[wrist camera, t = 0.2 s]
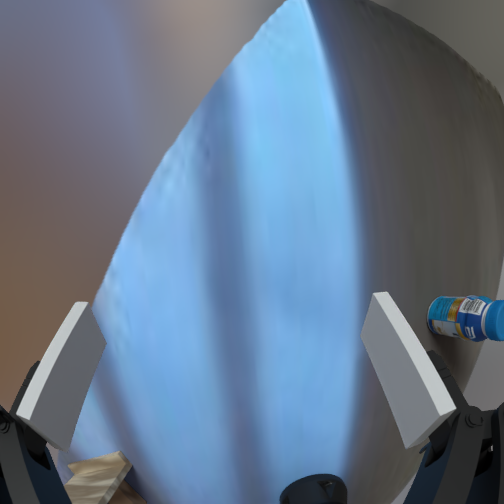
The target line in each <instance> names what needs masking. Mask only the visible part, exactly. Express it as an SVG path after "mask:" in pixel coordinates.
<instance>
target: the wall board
mask: <svg viewBox="0 0 504 504" xmlns="http://www.w3.org/2000/svg"><path fill="white" fill-rule="evenodd" d="M68 467H69V468H70V469H71V470H72V472H73V473H74V474H75V475H74V476H73V477H72V478H71V479H70V480H69V481H68V482H67V483H66V484H65V485H64V488H65V490H66V492H67V494H68V496H69V498H70V500H71V502H72V504H107V503H109V504H147V502H146V501H145V500H144V499H143V498H142V497H141V496H140V495H139V494H138V493H137V492H136V491H135V490H134V489H133V488H132V487H131V486H130V485H129V484H128V483H127V482H126V481H125V480H124V477H125V476H126V474H127V473H128V471H129V470H130V468H131V467H132V464H131V463H130V462H129V461H128V459H127V458H126V457H125V456H124V455H123V453H122V452H121V451H117V452H114V453H110V454H107V455H103V456H99V457H95V458H91V459H87V460H83V461H78V462H74V463H70V464H69V465H68Z"/></svg>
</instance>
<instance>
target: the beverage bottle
mask: <svg viewBox="0 0 504 504" xmlns="http://www.w3.org/2000/svg"><path fill="white" fill-rule="evenodd" d="M427 322H428V326H429V328H430V330H431V331H432V332H433V333H435V334H439V335H446V336H451V337H456V338H461V339H462V340H465V341H471V340H472V341H475V342H479V341H483V340H485V339H487V338H489V339H490V340H495V341H504V300H496V301H492V300H491V299H489V298H487V297H485V296H479V297H478V296H473V295H471V296H467V297H446V296H441V297H438V298H436V299H435V300H434V301H433V302H432V303H431V305H430V307H429V310H428V314H427Z"/></svg>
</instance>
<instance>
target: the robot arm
mask: <svg viewBox="0 0 504 504" xmlns="http://www.w3.org/2000/svg"><path fill="white" fill-rule="evenodd" d="M360 337H361V339H362V341H363V343H364V346H365V348H366V350H367V352H368V355H369V357H370V359H371V362H372V364H373V366H374V368H375V371H376V373H377V376H378V378H379V380H380V383H381V385H382V388H383V390H384V392H385V395H386V397H387V400H388V402H389V405H390V407H391V410H392V413H393V415H394V418H395V420H396V423H397V426H398V428H399V431H400V434H401V437H402V439H403V442H404V445H405V448H406V449H407V448H410V447H412V446H415V445H417V444H420V443H422V442H423V441H424V440H425V439H426V438H427V437H429V439H430V442H429V443H428V444H427V445H425V446H424V447H423V448H422V449H421V450H420V452H419V453H420V454H421V453H422V452H424V451H425V450H426V451H425V454H424V457H423V459H422V462H421V465H420V467H419V470H418V472H417V474H416V477H415V479H414V481H413V484H412V486H411V488H410V491H409V492H408V495H407V497H406V499H405V501H404V503H403V504H504V402H503V403H502V404H501V405H500V406H499V407H498V408H497V409H496V410H489V411H481V410H480V409H479V408H477V407H475V406H469V405H468V403H467V402H466V400H465V398H464V396H463V394H462V392H461V391H460V389H459V387H458V385H457V383H456V382H455V380H454V378H453V376H451V373H450V371H449V369H447V366H446V364H445V363H444V361H443V359H442V358H441V357H440V356H439V355H438V354H437V353H435V352H434V351H433V350H432V351H428V352H425V350H424V348H423V347H422V345H421V343H420V342H419V340H418V338H417V337H416V335H415V334H414V332H413V330H412V329H411V327H410V326H409V324H408V322H407V321H406V319H405V318H404V316H403V315H402V313H401V312H400V310H399V309H398V307H397V306H396V304H395V303H394V301H393V300H392V298H391V297H390V295H389V294H388V292H380V293H373V295H372V299H371V302H370V306H369V309H368V313H367V316H366V319H365V322H364V326H363V329H362V332H361V335H360ZM106 344H107V343H106V341H105V339H104V337H103V334H102V332H101V330H100V328H99V326H98V324H97V321H96V319H95V317H94V315H93V312H92V310H91V307H90V305H89V303H88V302H76V303H75V304H74V306H73V307H72V309H71V311H70V312H69V314H68V315H67V317H66V319H65V320H64V322H63V324H62V325H61V327H60V329H59V330H58V332H57V334H56V335H55V337H54V339H53V340H52V342H51V344H50V346H49V347H48V350H47V351H46V353H45V355H44V357H43V358H42V360H41V361H37V362H36V363H35V364H34V365H33V366H32V367H31V368H30V370H29V372H28V374H27V376H26V379H25V380H24V382H23V384H22V385H23V386H21V388H20V390H19V392H18V394H17V396H16V399H15V401H14V403H13V405H12V408H11V410H10V412H9V413H8V412H7V411H6V410H5V409H4V408H3V407H2V406H1V405H0V504H72V502H71V500H70V498H69V496H68V494H67V492H66V490H65V488H64V486H63V483H62V481H61V479H60V477H59V474H58V472H57V470H56V467H55V465H54V462H53V460H52V457H51V454H50V452H49V450H48V448H47V447H46V443H47V442H48V443H49V444H51V445H52V446H53V447H54V448H56V449H59V450H62V451H64V452H67V453H68V451H69V447H70V444H71V440H72V437H73V434H74V431H75V427H76V424H77V421H78V418H79V415H80V412H81V409H82V406H83V403H84V400H85V397H86V395H87V392H88V389H89V386H90V384H91V381H92V378H93V376H94V373H95V371H96V368H97V366H98V363H99V361H100V358H101V356H102V353H103V351H104V348H105V346H106ZM492 445H493V451H491V446H492ZM280 504H347V488H346V486H345V484H344V482H343V480H342V479H341V478H339V477H337V476H335V475H331V474H316V475H311V476H307V477H304V478H301V479H299V480H297V481H295V482H293V483H292V484H290V485H289V486H288V487H286V488H285V489H284V491H283V492H282V494H281V496H280Z"/></svg>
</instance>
